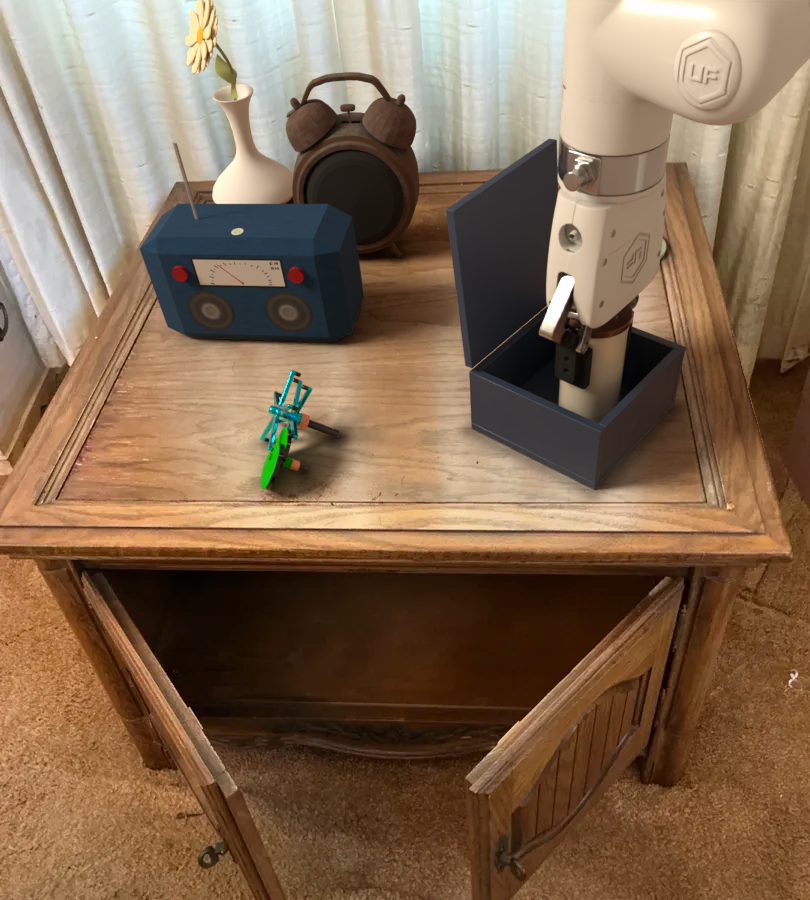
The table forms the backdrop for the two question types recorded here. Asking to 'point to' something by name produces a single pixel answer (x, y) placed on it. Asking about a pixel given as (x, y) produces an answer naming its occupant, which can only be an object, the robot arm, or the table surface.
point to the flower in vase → (235, 123)
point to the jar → (600, 368)
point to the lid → (503, 250)
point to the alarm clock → (357, 161)
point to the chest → (560, 430)
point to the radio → (255, 270)
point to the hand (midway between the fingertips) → (592, 361)
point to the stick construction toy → (288, 431)
